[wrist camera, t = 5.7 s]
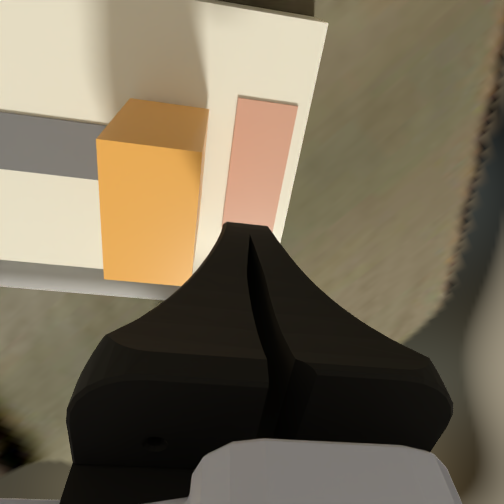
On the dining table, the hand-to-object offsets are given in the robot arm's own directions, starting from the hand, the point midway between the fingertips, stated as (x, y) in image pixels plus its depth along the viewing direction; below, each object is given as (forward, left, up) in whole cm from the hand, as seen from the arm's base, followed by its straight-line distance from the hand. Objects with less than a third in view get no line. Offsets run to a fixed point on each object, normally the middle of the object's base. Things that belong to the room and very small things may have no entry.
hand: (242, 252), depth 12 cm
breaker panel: (-9, 0, -10) cm, 13 cm away
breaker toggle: (-3, 0, -6) cm, 7 cm away
